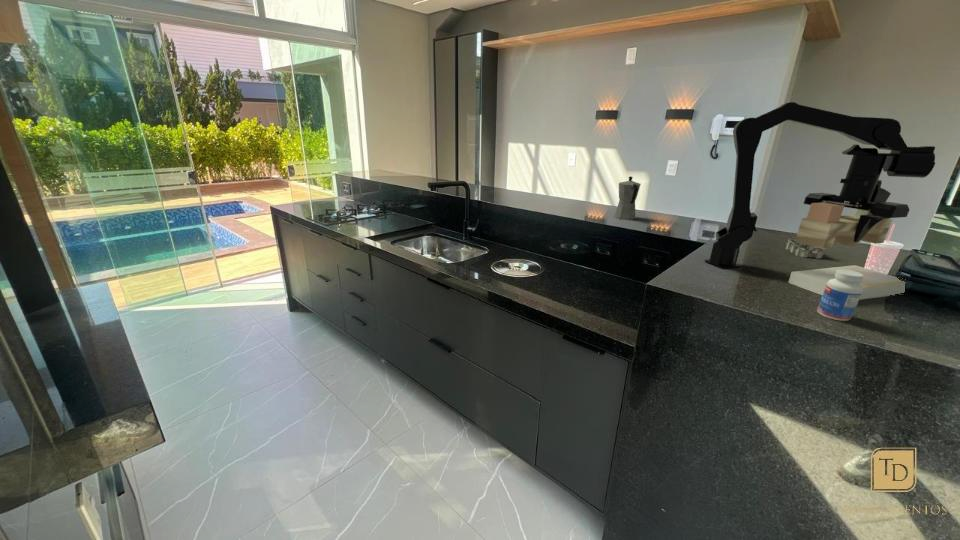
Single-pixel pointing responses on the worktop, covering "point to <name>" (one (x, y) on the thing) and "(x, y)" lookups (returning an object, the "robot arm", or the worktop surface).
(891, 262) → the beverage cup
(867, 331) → the worktop surface
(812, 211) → the salmon pink cube
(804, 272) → the dock
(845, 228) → the brown long block
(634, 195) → the coffeepot
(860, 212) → the pale green cube
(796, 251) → the egg carton
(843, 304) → the pill bottle
